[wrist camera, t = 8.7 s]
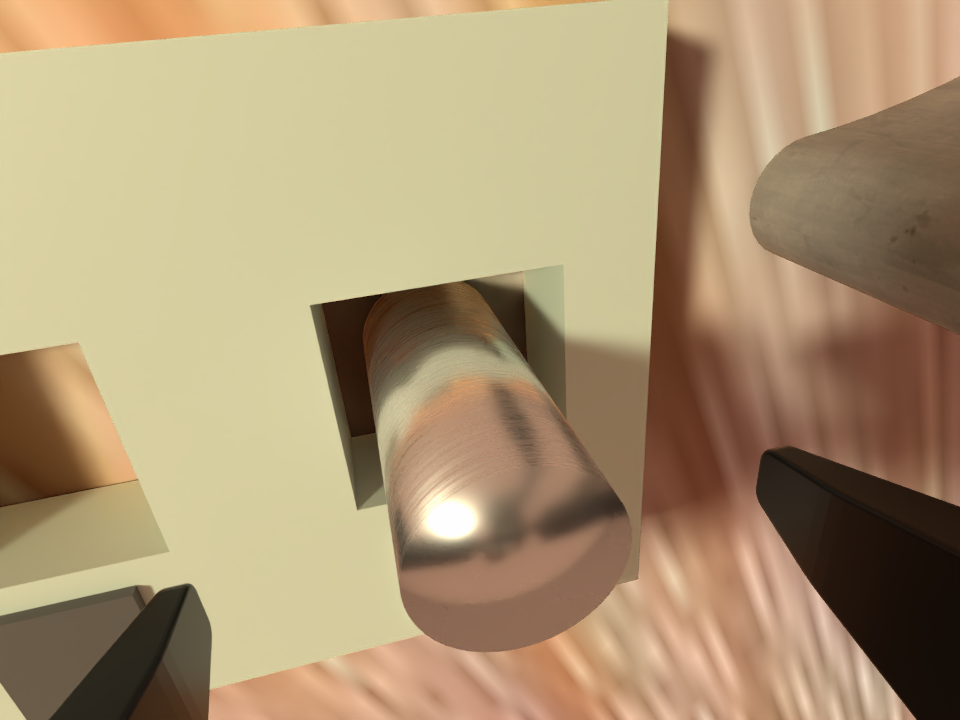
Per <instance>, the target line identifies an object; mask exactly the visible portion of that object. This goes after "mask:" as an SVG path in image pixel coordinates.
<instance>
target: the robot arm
mask: <svg viewBox="0 0 960 720" xmlns="http://www.w3.org/2000/svg"><path fill="white" fill-rule="evenodd" d="M756 494H757V498H758V501H759V503H760V505H761V507H762V508H763V510H764V511H765V513H766V514H767V516H768V518H769V519H770V521H771V522H772V524H773V525H774V527H775V529H776V530H777V532H778V533H779V535H780V536H781V538H782V540H783V541H784V543H785V544H786V546H787V548H788V549H789V551H790V552H791V554H792V555H793V557H794V559H795V560H796V562H797V563H798V565H799V566H800V568H801V570H802V571H803V573H804V574H805V575H806V577H807V578H808V580H809V581H810V583H811V584H812V586H813V587H814V588H815V590H816V591H817V592H818V594H819V595H820V596H821V598H822V599H823V600H824V601H825V603H826V604H827V605H828V607H829V608H830V609H831V610H832V612H833V613H834V614H835V616H836V617H837V618H838V619H839V621H840V622H841V623H842V625H843V626H844V627H845V628H846V630H847V631H848V632H849V634H850V635H851V636H852V637H853V639H854V640H855V641H856V643H857V644H858V645H859V646H860V648H861V649H862V650H863V652H864V653H865V654H866V655H867V657H868V658H869V659H870V661H871V662H872V663H873V664H874V666H875V667H876V668H877V670H878V671H879V672H880V673H881V675H882V676H883V677H884V679H885V680H886V681H887V682H888V684H889V685H890V686H891V688H892V689H893V690H894V691H895V693H896V694H897V695H898V697H899V698H900V699H901V700H902V702H903V703H904V704H905V706H906V707H907V708H908V709H909V711H910V712H911V713H912V715H913V716H914V717H915V718H916V720H960V507H959V506H956V505H953V504H951V503H948V502H945V501H942V500H939V499H937V498H934V497H931V496H928V495H925V494H923V493H920V492H917V491H914V490H911V489H909V488H906V487H903V486H900V485H898V484H895V483H892V482H889V481H886V480H884V479H881V478H878V477H875V476H872V475H870V474H867V473H864V472H861V471H859V470H856V469H853V468H850V467H847V466H845V465H842V464H839V463H836V462H833V461H831V460H828V459H825V458H822V457H820V456H817V455H814V454H811V453H808V452H806V451H803V450H800V449H797V448H794V447H791V446H782V447H777V448H773V449H769V450H766V451H765V452H764V453H763V454H762V456H761V461H760V467H759V473H758V479H757V485H756ZM211 649H212V630H211V625H210V621H209V619H208V616H207V614H206V612H205V609H204V607H203V604H202V602H201V600H200V597H199V595H198V593H197V590H196V589H195V587H194V586H193V585H192V584H189V583H185V584H181V585H176V586H172V587H167V588H164V589H161V590H160V591H159V592H157V593H156V594H155V596H154V597H153V598H152V599H151V600H150V601H149V603H148V604H147V605H146V606H145V607H144V608H143V610H142V611H141V612H140V613H139V614H138V615H137V617H136V618H135V619H134V620H133V621H132V622H131V624H130V625H129V626H128V627H127V628H126V629H125V631H124V632H123V633H122V634H121V635H120V636H119V638H118V639H117V640H116V641H115V642H114V643H113V645H112V646H111V647H110V648H109V649H108V650H107V652H106V653H105V654H104V655H103V656H102V657H101V659H100V660H99V661H98V662H97V663H96V664H95V666H94V667H93V668H92V669H91V670H90V671H89V673H88V674H87V675H86V676H85V677H84V678H83V680H82V681H81V682H80V683H79V684H78V685H77V687H76V688H75V689H74V690H73V691H72V692H71V694H70V695H69V696H68V697H67V698H66V699H65V701H64V702H63V703H62V704H61V705H60V706H59V708H58V709H57V710H56V711H55V712H54V713H53V715H52V716H51V717H50V718H49V719H48V720H208V712H209V691H210V670H211Z"/></svg>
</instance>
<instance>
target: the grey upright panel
mask: <svg viewBox="0 0 960 720" xmlns="http://www.w3.org/2000/svg"><path fill="white" fill-rule="evenodd" d="M750 222H751V227H752V231H753V234H754V236H755V238H756V239H757V241H758V243H759V244H760V245H761V246H762V247H764V248H765V249H766V250H768V251H770V252H771V253H773V254H776V255H778V256H780V257H783V258H785V259H787V260H789V261H792V262H794V263H796V264H799V265H801V266H803V267H805V268H808V269H810V270H812V271H815V272H817V273H819V274H821V275H824V276H826V277H828V278H831V279H833V280H835V281H838V282H840V283H842V284H844V285H847V286H849V287H851V288H854V289H856V290H858V291H860V292H863V293H865V294H867V295H870V296H872V297H874V298H876V299H879V300H881V301H883V302H886V303H888V304H890V305H893V306H895V307H897V308H899V309H902V310H904V311H906V312H909V313H911V314H913V315H915V316H918V317H920V318H922V319H925V320H927V321H929V322H931V323H934V324H936V325H938V326H941V327H943V328H945V329H948V330H950V331H952V332H954V333H957V334H959V335H960V77H958V78H956V79H954V80H952V81H950V82H948V83H946V84H944V85H941V86H939V87H937V88H935V89H932V90H930V91H928V92H926V93H923V94H921V95H919V96H917V97H915V98H912V99H910V100H908V101H905V102H903V103H901V104H898V105H896V106H893V107H891V108H888V109H886V110H883V111H881V112H879V113H876V114H874V115H871V116H868V117H865V118H862V119H860V120H857V121H854V122H851V123H848V124H845V125H843V126H840V127H837V128H833V129H830V130H827V131H824V132H820V133H817V134H814V135H811V136H807V137H805V138H802V139H800V140H797V141H795V142H793V143H792V144H790V145H788V146H787V147H785V148H784V149H783V150H782V151H781V152H779V153H778V154H777V155H776V156H775V157H774V158H773V159H772V160H771V162H770V163H769V164H768V165H767V166H766V168H765V170H764V171H763V173H762V174H761V176H760V178H759V180H758V182H757V184H756V187H755V189H754V192H753V196H752V200H751V205H750Z"/></svg>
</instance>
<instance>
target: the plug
mask: <svg viewBox="0 0 960 720" xmlns="http://www.w3.org/2000/svg"><path fill="white" fill-rule="evenodd" d="M363 347H364V354H365V361H366V368H367V374H368V381H369V388H370V394H371V401H372V408H373V415H374V421H375V428H376V435H377V441H378V448H379V455H380V461H381V468H382V475H383V481H384V488H385V495H386V501H387V508H388V515H389V522H390V528H391V535H392V542H393V548H394V555H395V562H396V568H397V575H398V582H399V588H400V595H401V599H402V602H403V606H404V608H405V610H406V612H407V614H408V616H409V618H410V619H411V620H412V621H413V623H414V624H415V625H416V626H417V627H418V628H419V629H420V630H421V631H422V632H423V633H424V634H426V635H427V636H429V637H430V638H432V639H434V640H435V641H437V642H440V643H442V644H444V645H446V646H450V647H453V648H456V649H461V650H466V651H474V652H499V651H507V650H514V649H518V648H523V647H527V646H530V645H533V644H536V643H539V642H542V641H544V640H547V639H549V638H552V637H554V636H556V635H558V634H560V633H562V632H564V631H566V630H567V629H569V628H570V627H572V626H574V625H575V624H577V623H578V622H580V621H581V620H582V619H584V618H585V617H586V616H588V615H589V614H590V613H591V612H592V611H593V610H594V609H596V608H597V607H598V606H599V605H600V604H601V603H602V602H603V600H604V599H605V598H606V597H607V596H608V595H609V594H610V592H611V591H612V590H613V588H614V587H615V585H616V584H617V582H618V581H619V579H620V577H621V575H622V574H623V571H624V569H625V567H626V564H627V562H628V558H629V555H630V551H631V543H632V528H631V523H630V519H629V516H628V513H627V511H626V508H625V506H624V505H623V503H622V502H621V500H620V499H619V497H618V496H617V494H616V493H615V491H614V490H613V488H612V487H611V485H610V484H609V482H608V481H607V479H606V478H605V477H604V475H603V474H602V472H601V471H600V469H599V468H598V466H597V465H596V463H595V462H594V460H593V459H592V457H591V456H590V454H589V453H588V451H587V450H586V448H585V447H584V446H583V444H582V443H581V441H580V440H579V438H578V437H577V435H576V434H575V432H574V431H573V429H572V428H571V426H570V425H569V423H568V422H567V420H566V419H565V417H564V416H563V414H562V413H561V412H560V410H559V409H558V407H557V406H556V404H555V403H554V401H553V400H552V398H551V397H550V395H549V394H548V392H547V391H546V389H545V388H544V386H543V385H542V383H541V382H540V381H539V379H538V378H537V376H536V375H535V373H534V372H533V370H532V369H531V367H530V366H529V364H528V363H527V361H526V360H525V358H524V357H523V355H522V354H521V352H520V351H519V349H518V348H517V347H516V345H515V344H514V342H513V341H512V339H511V338H510V336H509V335H508V333H507V332H506V330H505V329H504V327H503V326H502V324H501V323H500V321H499V320H498V318H497V317H496V316H495V314H494V313H493V311H492V310H491V308H490V307H489V305H488V304H487V302H486V301H485V299H484V298H483V297H482V295H481V294H480V293H479V292H478V291H477V290H476V289H474V288H473V287H472V286H471V285H469V284H467V283H466V282H464V281H457V282H451V283H444V284H438V285H432V286H426V287H420V288H413V289H407V290H401V291H395V292H389V293H384V294H382V295H381V296H380V298H379V299H378V300H377V301H376V302H375V304H374V305H373V307H372V308H371V310H370V312H369V314H368V316H367V319H366V322H365V325H364V331H363Z"/></svg>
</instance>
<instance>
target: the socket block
mask: <svg viewBox="0 0 960 720" xmlns="http://www.w3.org/2000/svg"><path fill="white" fill-rule="evenodd" d="M668 5H669V0H611V1H599V2H588V3H576V4H564V5H553V6H541V7H530V8H518V9H507V10H495V11H483V12H472V13H460V14H449V15H437V16H426V17H414V18H402V19H391V20H379V21H368V22H356V23H345V24H333V25H322V26H310V27H298V28H287V29H275V30H264V31H252V32H241V33H229V34H217V35H206V36H194V37H183V38H171V39H160V40H148V41H137V42H125V43H113V44H102V45H90V46H79V47H67V48H56V49H44V50H32V51H21V52H9V53H0V355H4V354H11V353H17V352H23V351H29V350H35V349H42V348H48V347H54V346H60V345H66V344H73V343H79V345H80V348H81V350H82V352H83V355H84V357H85V359H86V361H87V364H88V366H89V368H90V371H91V373H92V375H93V377H94V380H95V382H96V384H97V387H98V389H99V391H100V393H101V396H102V398H103V400H104V403H105V405H106V407H107V409H108V412H109V414H110V416H111V419H112V421H113V423H114V425H115V428H116V430H117V432H118V435H119V437H120V439H121V442H122V444H123V446H124V448H125V451H126V453H127V455H128V458H129V460H130V462H131V464H132V467H133V469H134V471H135V474H136V476H137V478H138V480H135V481H130V482H125V483H120V484H115V485H110V486H105V487H100V488H95V489H90V490H85V491H80V492H75V493H70V494H65V495H60V496H55V497H50V498H45V499H40V500H35V501H30V502H25V503H20V504H15V505H10V506H5V507H0V720H48V719H49V718H50V717H51V716H52V715H53V713H54V712H55V711H56V710H57V709H58V708H59V706H60V705H61V704H62V703H63V702H64V701H65V699H66V698H67V697H68V696H69V695H70V694H71V692H72V691H73V690H74V689H75V688H76V687H77V685H78V684H79V683H80V682H81V681H82V680H83V678H84V677H85V676H86V675H87V674H88V673H89V671H90V670H91V669H92V668H93V667H94V666H95V664H96V663H97V662H98V661H99V660H100V659H101V657H102V656H103V655H104V654H105V653H106V652H107V650H108V649H109V648H110V647H111V646H112V645H113V643H114V642H115V641H116V640H117V639H118V638H119V636H120V635H121V634H122V633H123V632H124V631H125V629H126V628H127V627H128V626H129V625H130V624H131V622H132V621H133V620H134V619H135V618H136V617H137V615H138V614H139V613H140V612H141V611H142V610H143V608H144V607H145V606H146V605H147V604H148V603H149V601H150V600H151V599H152V598H153V597H154V596H155V594H156V593H157V592H159V591H160V590H161V589H164V588H167V587H172V586H176V585H181V584H185V583H189V584H192V585H193V586H194V587H195V589H196V590H197V593H198V595H199V597H200V600H201V602H202V604H203V607H204V609H205V612H206V614H207V616H208V619H209V621H210V625H211V630H212V649H211V670H210V689H214V688H217V687H221V686H225V685H229V684H233V683H237V682H241V681H245V680H249V679H252V678H256V677H260V676H264V675H268V674H272V673H276V672H280V671H283V670H287V669H291V668H295V667H299V666H303V665H307V664H311V663H314V662H318V661H322V660H326V659H330V658H334V657H338V656H342V655H346V654H349V653H353V652H357V651H361V650H365V649H369V648H373V647H377V646H380V645H384V644H388V643H392V642H396V641H400V640H404V639H408V638H412V637H415V636H419V635H423V634H424V633H423V632H422V631H421V630H420V629H419V628H418V627H417V626H416V625H415V624H414V623H413V621H412V620H411V619H410V618H409V616H408V614H407V612H406V610H405V608H404V606H403V602H402V599H401V595H400V588H399V582H398V575H397V568H396V562H395V555H394V548H393V542H392V535H391V528H390V522H389V515H388V508H387V501H386V495H385V488H384V481H383V475H382V468H381V461H380V455H379V448H378V441H377V435H376V433H371V434H366V435H361V436H356V437H351V434H350V429H349V425H348V420H347V416H346V411H345V407H344V402H343V398H342V393H341V389H340V384H339V380H338V375H337V371H336V366H335V361H334V357H333V352H332V348H331V343H330V339H329V334H328V330H327V325H326V321H325V316H324V312H323V307H322V303H327V302H333V301H339V300H345V299H352V298H358V297H364V296H370V295H376V294H382V293H389V292H395V291H401V290H407V289H413V288H420V287H426V286H432V285H438V284H444V283H451V282H457V281H463V280H469V279H475V278H482V277H488V276H494V275H500V274H506V273H513V272H519V271H523V284H524V303H525V322H526V341H527V359H528V364H529V366H530V367H531V369H532V370H533V372H534V373H535V375H536V376H537V378H538V379H539V381H540V382H541V383H542V385H543V386H544V388H545V389H546V391H547V392H548V394H549V395H550V397H551V398H552V400H553V401H554V403H555V404H556V406H557V407H558V409H559V410H560V412H561V413H562V414H563V416H564V417H565V419H566V420H567V422H568V423H569V425H570V426H571V428H572V429H573V431H574V432H575V434H576V435H577V437H578V438H579V440H580V441H581V443H582V444H583V446H584V447H585V448H586V450H587V451H588V453H589V454H590V456H591V457H592V459H593V460H594V462H595V463H596V465H597V466H598V468H599V469H600V471H601V472H602V474H603V475H604V477H605V478H606V479H607V481H608V482H609V484H610V485H611V487H612V488H613V490H614V491H615V493H616V494H617V496H618V497H619V499H620V500H621V502H622V503H623V505H624V506H625V508H626V511H627V513H628V516H629V519H630V523H631V528H632V543H631V551H630V555H629V558H628V562H627V564H626V567H625V569H624V571H623V574H622V575H621V577H620V579H619V581H618V582H617V584H621V583H625V582H629V581H633V580H637V579H638V572H639V553H640V534H641V516H642V497H643V478H644V459H645V440H646V421H647V402H648V383H649V364H650V345H651V326H652V308H653V289H654V270H655V251H656V232H657V213H658V194H659V175H660V156H661V137H662V119H663V100H664V81H665V62H666V43H667V24H668ZM617 584H616V585H617Z"/></svg>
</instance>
